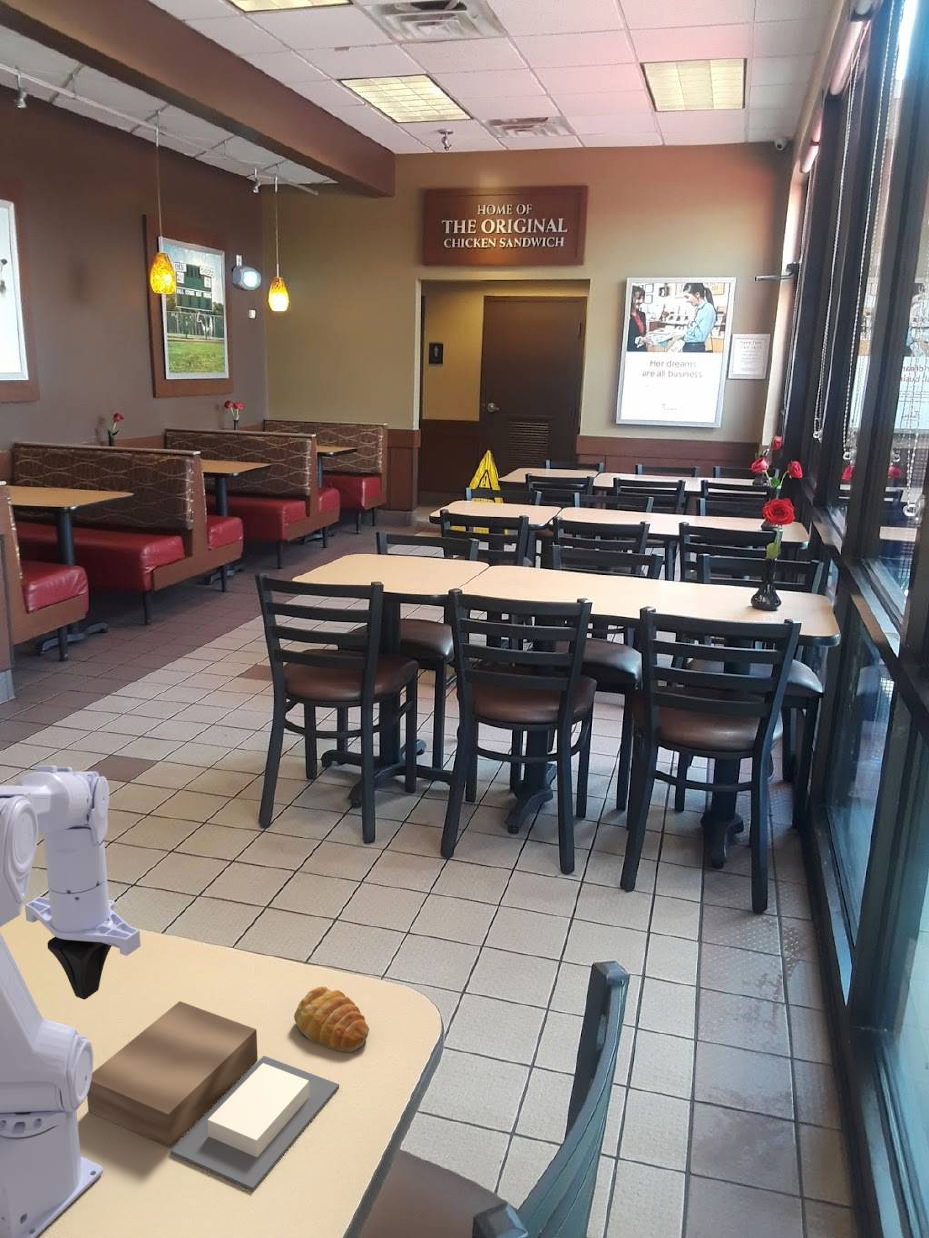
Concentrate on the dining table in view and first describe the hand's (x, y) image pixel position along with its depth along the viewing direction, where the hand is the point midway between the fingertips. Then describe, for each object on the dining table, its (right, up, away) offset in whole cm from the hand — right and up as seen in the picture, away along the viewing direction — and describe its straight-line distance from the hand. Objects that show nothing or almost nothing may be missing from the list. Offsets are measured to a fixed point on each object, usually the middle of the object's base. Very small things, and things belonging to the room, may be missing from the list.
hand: (87, 992), depth 100 cm
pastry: (+25, -8, +10) cm, 28 cm away
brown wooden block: (+10, -10, 0) cm, 14 cm away
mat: (+20, -11, -4) cm, 23 cm away
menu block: (+20, -9, -5) cm, 22 cm away
